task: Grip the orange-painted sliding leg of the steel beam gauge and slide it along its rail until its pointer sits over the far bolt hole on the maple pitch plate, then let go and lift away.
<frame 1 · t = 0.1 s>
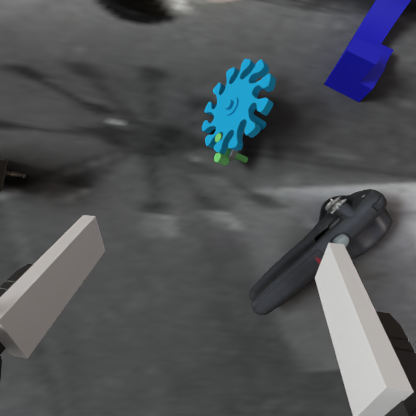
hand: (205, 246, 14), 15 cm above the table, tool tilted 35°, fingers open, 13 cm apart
can opener: (306, 251, 29), on the table
gear: (233, 127, 30), on the table
cable clip: (366, 51, 29), on the table
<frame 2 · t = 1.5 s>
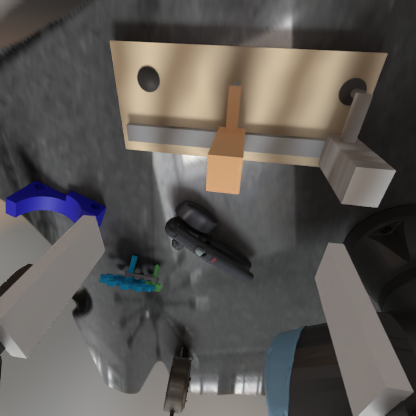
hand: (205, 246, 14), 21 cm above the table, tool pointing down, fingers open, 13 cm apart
sliding leg: (229, 133, 24), point 7 cm above the table, slide at 0.0 cm
can opener: (215, 237, 41), on the table
gear: (139, 266, 48), on the table
pitch plate: (235, 106, 29), on the table
cable clip: (71, 199, 41), on the table
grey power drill: (185, 354, 64), on the table
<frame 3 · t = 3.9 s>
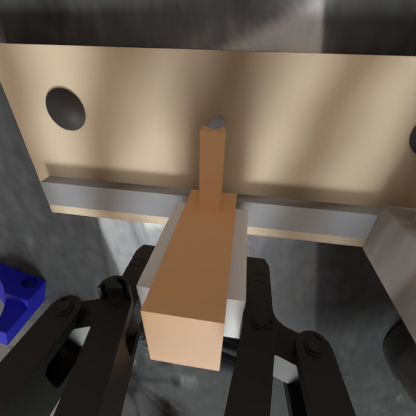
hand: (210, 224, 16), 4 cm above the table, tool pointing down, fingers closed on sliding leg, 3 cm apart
sliding leg: (203, 225, 12), point 7 cm above the table, slide at 0.0 cm, touching gripper
can opener: (207, 317, 29), on the table
pitch plate: (220, 150, 17), on the table
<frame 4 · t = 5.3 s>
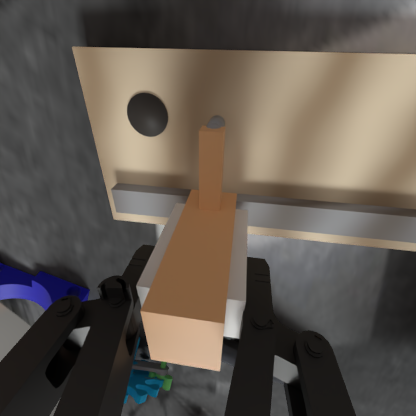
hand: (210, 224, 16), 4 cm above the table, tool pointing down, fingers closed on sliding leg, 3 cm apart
sliding leg: (202, 225, 12), point 7 cm above the table, slide at 5.5 cm, touching gripper
can opener: (259, 325, 29), on the table
gear: (141, 346, 35), on the table
pitch plate: (300, 156, 17), on the table
cable clip: (42, 279, 30), on the table
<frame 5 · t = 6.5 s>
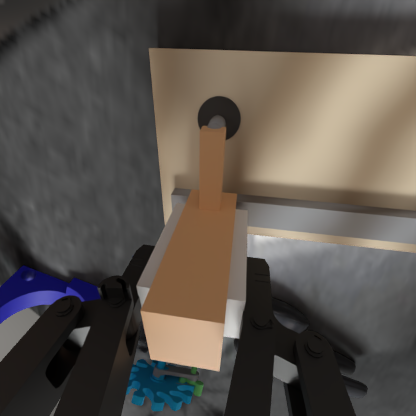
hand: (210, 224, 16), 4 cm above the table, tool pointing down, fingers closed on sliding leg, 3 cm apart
sliding leg: (203, 225, 12), point 7 cm above the table, slide at 10.0 cm, touching gripper
can opener: (300, 332, 28), on the table
gear: (169, 350, 35), on the table
pitch plate: (369, 162, 16), on the table
cable clip: (74, 285, 30), on the table
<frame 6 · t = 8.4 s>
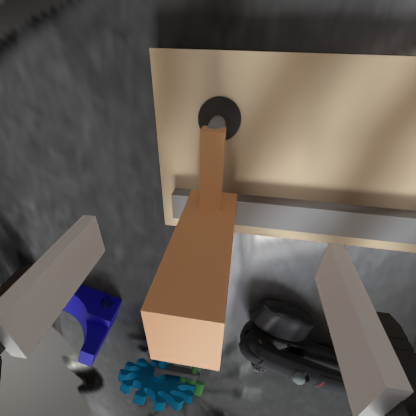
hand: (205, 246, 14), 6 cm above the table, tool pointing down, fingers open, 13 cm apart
sliding leg: (203, 225, 12), point 7 cm above the table, slide at 10.0 cm
can opener: (306, 333, 28), on the table
gear: (170, 350, 35), on the table
pitch plate: (369, 162, 16), on the table
cable clip: (74, 289, 30), on the table
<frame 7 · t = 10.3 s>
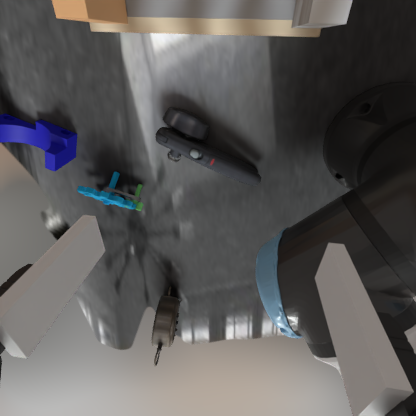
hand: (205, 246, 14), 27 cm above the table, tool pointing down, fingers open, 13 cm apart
can opener: (213, 148, 40), on the table
gear: (120, 187, 46), on the table
cable clip: (43, 131, 42), on the table
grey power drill: (173, 296, 64), on the table
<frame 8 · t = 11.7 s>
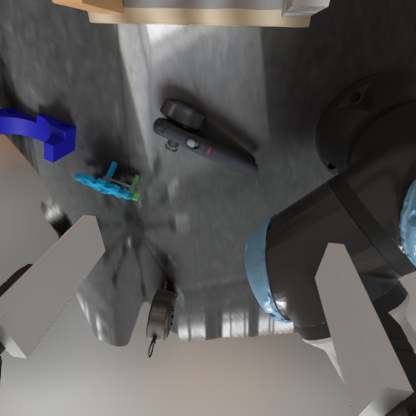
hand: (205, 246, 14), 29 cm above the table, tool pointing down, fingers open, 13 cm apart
can opener: (210, 139, 40), on the table
gear: (117, 178, 47), on the table
cable clip: (43, 124, 43), on the table
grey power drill: (170, 291, 64), on the table
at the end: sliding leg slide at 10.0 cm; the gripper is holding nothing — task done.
